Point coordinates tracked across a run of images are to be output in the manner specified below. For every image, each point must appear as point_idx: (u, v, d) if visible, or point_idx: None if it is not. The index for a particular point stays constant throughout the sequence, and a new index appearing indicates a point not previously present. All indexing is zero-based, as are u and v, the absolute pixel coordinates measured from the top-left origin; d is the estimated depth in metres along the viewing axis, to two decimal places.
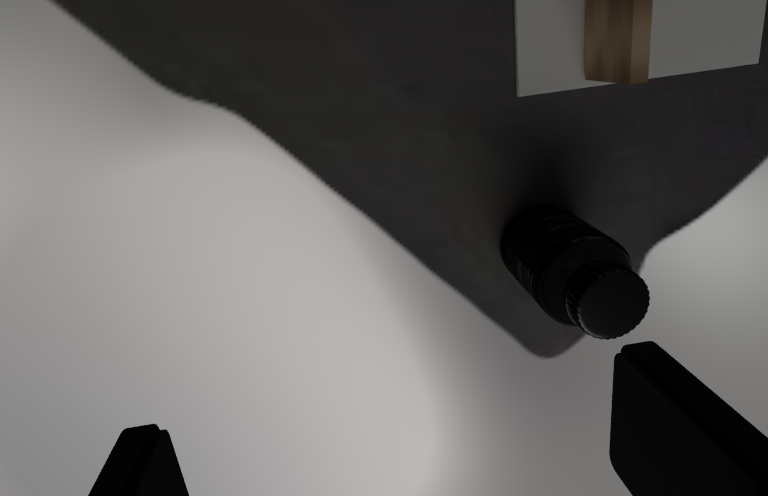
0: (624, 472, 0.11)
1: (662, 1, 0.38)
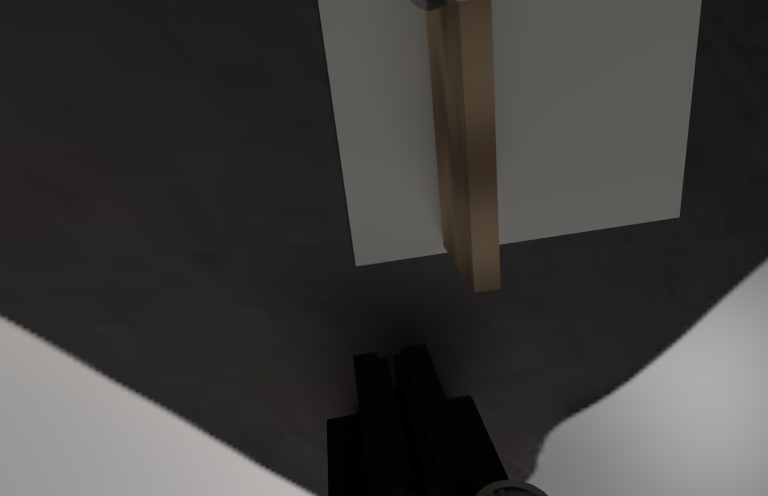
0: None
1: (544, 145, 0.28)
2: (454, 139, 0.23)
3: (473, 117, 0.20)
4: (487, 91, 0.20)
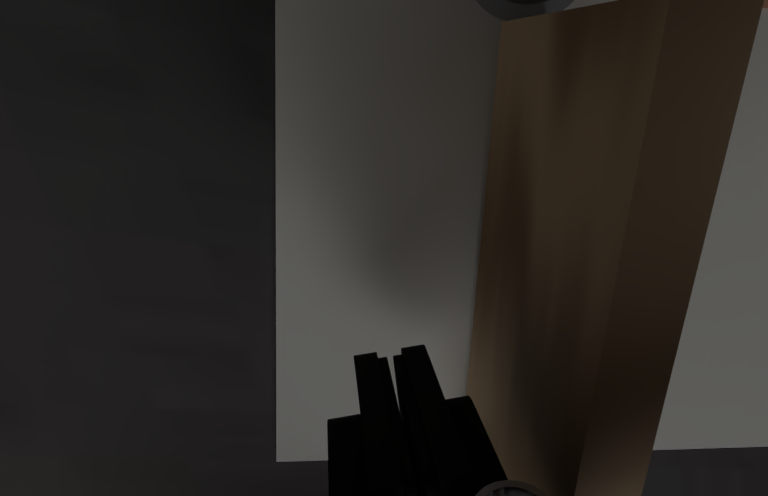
0: None
1: None
2: (544, 320, 0.10)
3: (631, 313, 0.07)
4: (681, 254, 0.07)
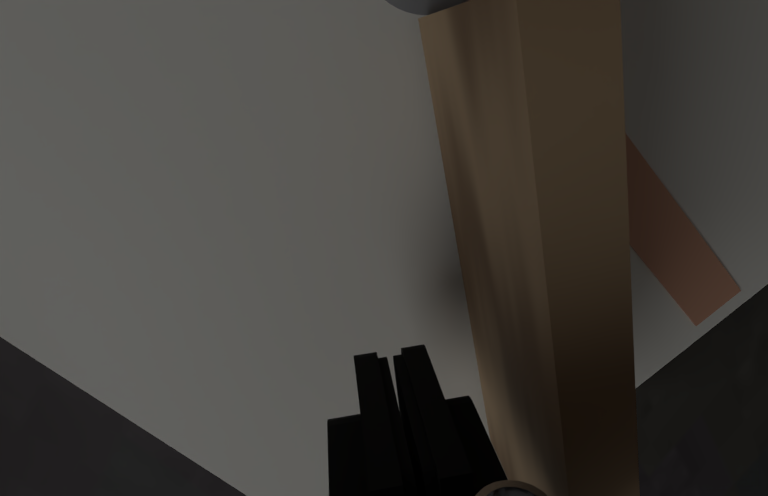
0: None
1: (322, 345, 0.14)
2: (511, 316, 0.10)
3: (572, 306, 0.07)
4: (608, 238, 0.07)
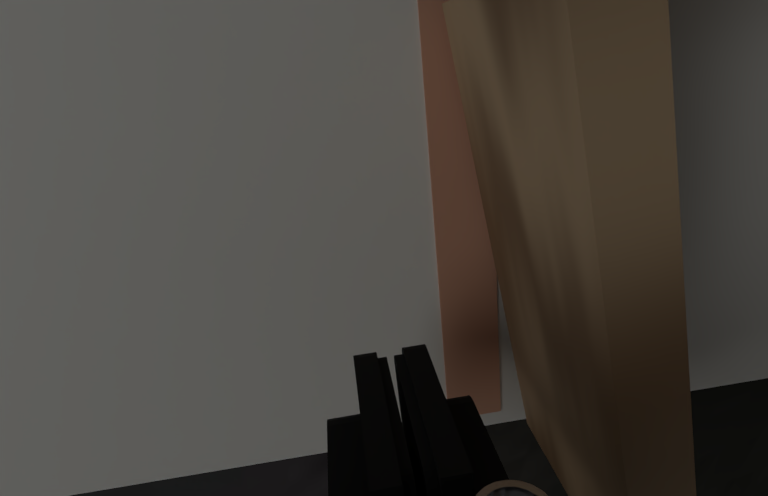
0: None
1: (103, 211, 0.12)
2: (554, 292, 0.10)
3: (624, 274, 0.07)
4: (659, 203, 0.07)
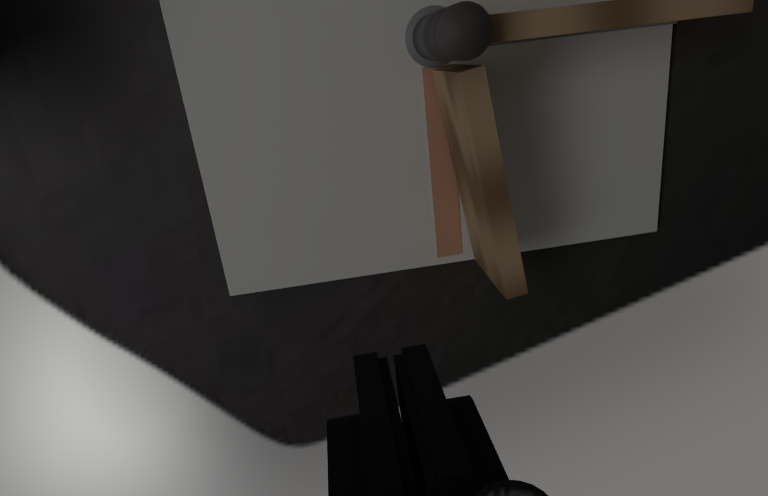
0: None
1: (292, 154, 0.30)
2: (471, 175, 0.27)
3: (484, 159, 0.25)
4: (492, 138, 0.25)
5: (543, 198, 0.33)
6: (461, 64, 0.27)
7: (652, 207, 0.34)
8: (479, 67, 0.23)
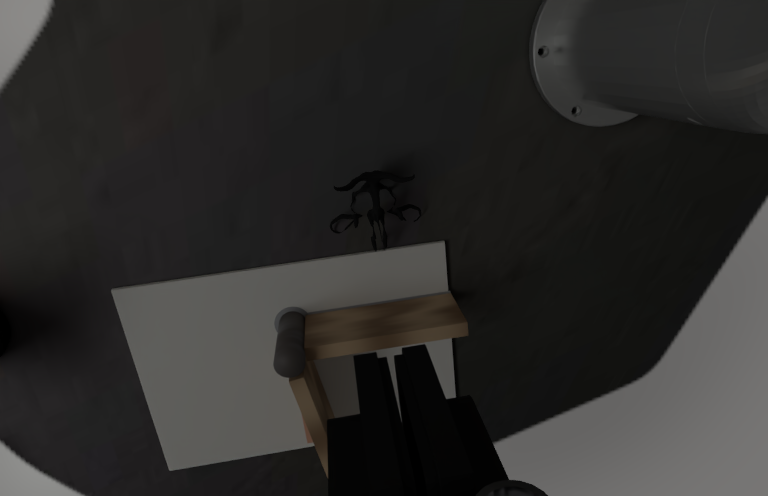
0: None
1: (206, 390, 0.47)
2: None
3: (309, 422, 0.42)
4: (313, 411, 0.42)
5: None
6: None
7: None
8: (300, 378, 0.41)
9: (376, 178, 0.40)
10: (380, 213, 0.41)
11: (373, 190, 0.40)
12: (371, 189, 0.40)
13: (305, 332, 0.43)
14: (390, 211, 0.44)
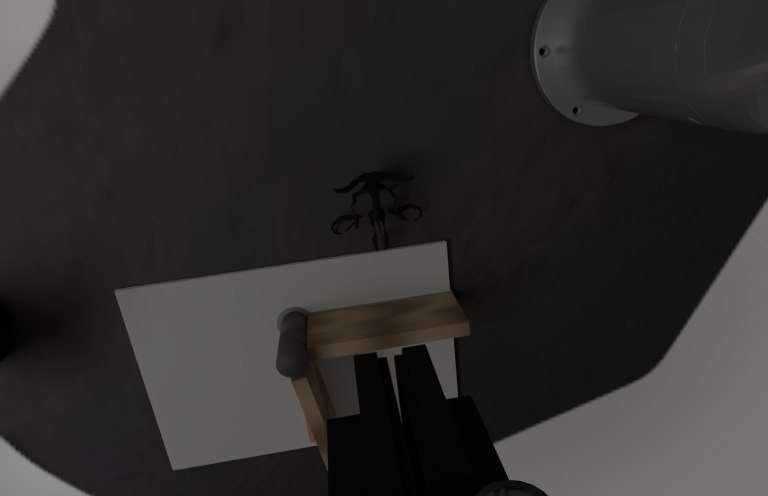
0: None
1: (209, 390, 0.47)
2: None
3: (312, 422, 0.42)
4: (315, 411, 0.42)
5: None
6: None
7: None
8: (303, 378, 0.41)
9: (375, 179, 0.40)
10: (380, 213, 0.41)
11: (373, 191, 0.40)
12: (371, 190, 0.40)
13: (307, 332, 0.43)
14: (391, 211, 0.44)
